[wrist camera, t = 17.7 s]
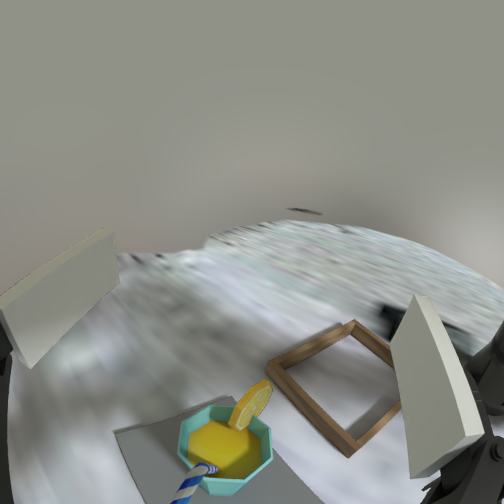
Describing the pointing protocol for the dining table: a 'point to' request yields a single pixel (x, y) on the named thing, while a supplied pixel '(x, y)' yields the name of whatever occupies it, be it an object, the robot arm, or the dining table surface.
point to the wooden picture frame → (308, 404)
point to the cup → (225, 445)
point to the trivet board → (175, 469)
